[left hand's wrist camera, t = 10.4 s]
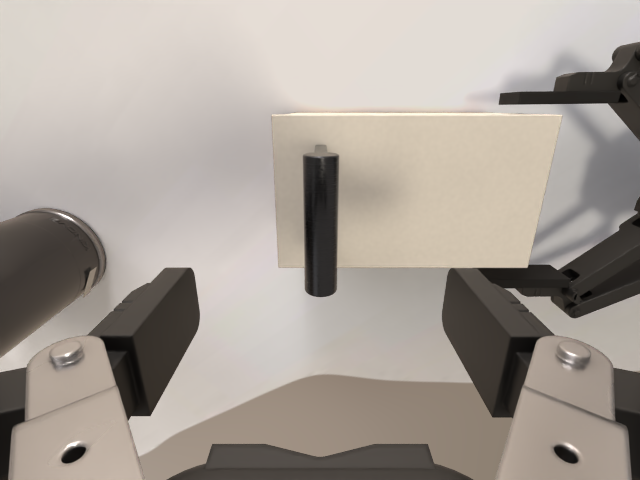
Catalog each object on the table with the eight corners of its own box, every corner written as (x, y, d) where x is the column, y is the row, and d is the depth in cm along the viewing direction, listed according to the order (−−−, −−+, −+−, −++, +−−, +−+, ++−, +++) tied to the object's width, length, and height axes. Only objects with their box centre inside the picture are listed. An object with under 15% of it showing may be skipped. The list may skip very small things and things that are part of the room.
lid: (279, 263, 26) (263, 324, 18) (272, 114, 22) (250, 117, 15) (521, 263, 26) (600, 324, 18) (554, 114, 22) (669, 118, 15)
